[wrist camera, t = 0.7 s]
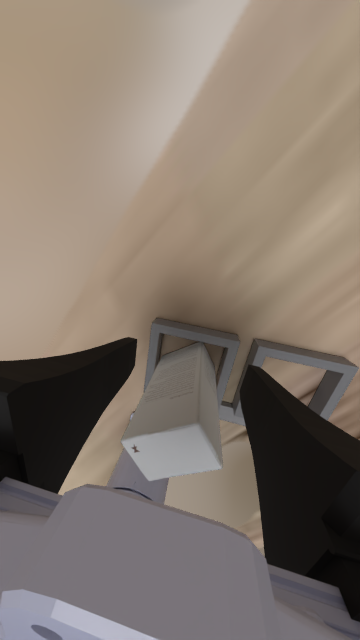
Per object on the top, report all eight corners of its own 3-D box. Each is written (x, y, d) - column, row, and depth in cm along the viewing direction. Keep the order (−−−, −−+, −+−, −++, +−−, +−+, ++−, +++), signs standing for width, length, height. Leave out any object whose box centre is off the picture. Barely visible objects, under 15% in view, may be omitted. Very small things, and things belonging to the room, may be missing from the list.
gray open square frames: (301, 435, 23) (309, 450, 21) (146, 395, 25) (142, 406, 24) (344, 357, 19) (359, 367, 17) (156, 317, 21) (151, 322, 20)
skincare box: (175, 380, 24) (146, 483, 13) (161, 354, 23) (116, 441, 12) (216, 367, 22) (225, 472, 11) (203, 339, 21) (197, 422, 10)
